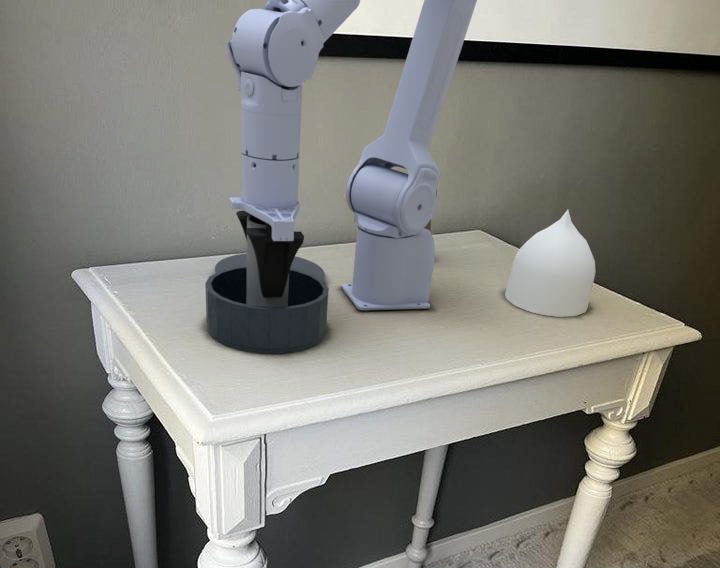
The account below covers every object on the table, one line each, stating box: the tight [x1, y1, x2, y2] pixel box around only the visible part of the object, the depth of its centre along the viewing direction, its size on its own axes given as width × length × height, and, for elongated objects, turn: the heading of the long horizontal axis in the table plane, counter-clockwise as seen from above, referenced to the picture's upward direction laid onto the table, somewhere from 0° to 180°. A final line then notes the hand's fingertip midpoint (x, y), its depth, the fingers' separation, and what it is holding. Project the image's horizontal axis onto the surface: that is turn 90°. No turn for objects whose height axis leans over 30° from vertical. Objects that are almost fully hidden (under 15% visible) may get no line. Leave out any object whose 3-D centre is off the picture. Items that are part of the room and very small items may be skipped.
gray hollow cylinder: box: [246, 215, 289, 307], centre depth 79 cm, size 4×4×10 cm
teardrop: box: [504, 209, 596, 318], centre depth 95 cm, size 11×11×12 cm
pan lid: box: [214, 252, 326, 282], centre depth 95 cm, size 14×14×5 cm
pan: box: [204, 266, 330, 355], centre depth 81 cm, size 13×13×5 cm
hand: (267, 287), depth 80 cm, fingers closed on gray hollow cylinder, 4 cm apart
